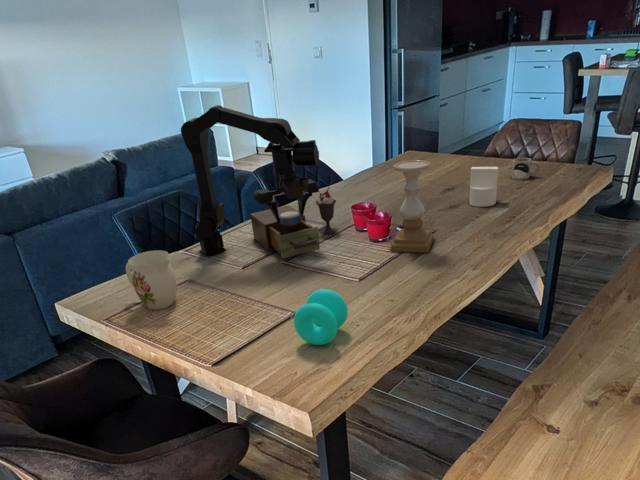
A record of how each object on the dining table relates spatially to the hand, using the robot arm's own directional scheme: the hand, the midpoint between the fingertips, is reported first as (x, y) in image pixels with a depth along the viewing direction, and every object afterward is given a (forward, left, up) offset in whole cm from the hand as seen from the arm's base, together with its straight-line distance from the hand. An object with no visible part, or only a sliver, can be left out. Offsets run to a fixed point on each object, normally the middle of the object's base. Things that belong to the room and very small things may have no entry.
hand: (289, 219), depth 171 cm
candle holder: (+25, -27, -10) cm, 38 cm away
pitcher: (-47, -1, -10) cm, 48 cm away
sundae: (+18, +4, -10) cm, 21 cm away
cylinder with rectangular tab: (+70, -19, -10) cm, 73 cm away
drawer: (0, -2, -9) cm, 9 cm away
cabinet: (+3, +11, -10) cm, 15 cm away
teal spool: (-29, -49, -10) cm, 57 cm away
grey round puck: (0, 0, -1) cm, 1 cm away
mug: (+105, -13, -10) cm, 106 cm away
